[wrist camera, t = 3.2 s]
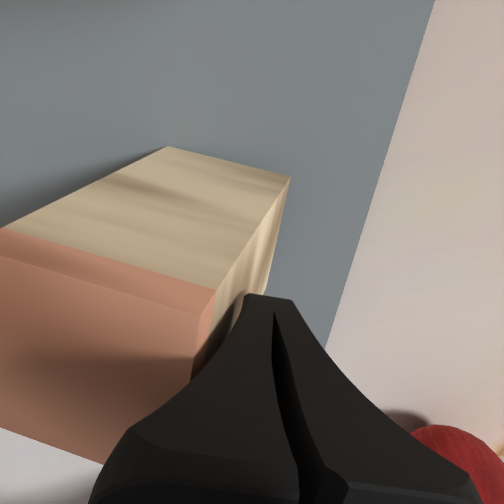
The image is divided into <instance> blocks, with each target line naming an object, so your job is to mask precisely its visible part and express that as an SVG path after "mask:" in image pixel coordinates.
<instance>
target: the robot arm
mask: <svg viewBox="0 0 504 504" xmlns="http://www.w3.org/2000/svg"><path fill="white" fill-rule="evenodd" d="M88 504H484V503H483V501H482V499H481V497H480V494H479V492H478V490H477V489H476V487H475V485H474V483H473V481H472V479H471V477H470V475H469V474H468V472H466V471H464V470H463V469H461V468H460V467H458V466H457V465H455V464H453V463H452V462H450V461H449V460H447V459H445V458H444V457H442V456H441V455H439V454H438V453H436V452H434V451H433V450H431V449H430V448H428V447H427V446H425V445H424V444H423V443H421V442H420V441H419V440H417V439H416V438H414V437H413V436H412V435H410V434H409V433H408V432H406V431H405V430H404V429H402V428H401V427H400V426H399V425H397V424H396V423H395V422H394V421H392V420H391V419H390V418H389V417H388V416H386V415H385V414H384V413H383V412H382V411H381V410H380V409H378V408H377V407H376V406H375V405H374V404H373V403H372V402H371V401H370V400H368V399H367V398H366V397H365V396H364V395H363V394H362V393H361V392H360V391H359V390H358V389H357V388H356V387H355V385H354V384H353V383H352V382H351V381H350V380H349V379H348V378H347V377H346V376H345V375H344V374H343V373H342V371H341V370H340V369H339V368H338V367H337V365H336V364H335V363H334V362H333V360H332V359H331V358H330V357H329V355H328V354H327V353H326V351H325V350H324V349H323V347H322V346H321V344H320V343H319V341H318V340H317V339H316V337H315V336H314V334H313V333H312V331H311V330H310V328H309V327H308V325H307V323H306V322H305V320H304V319H303V317H302V315H301V314H300V312H299V310H298V309H297V307H296V305H295V304H294V302H293V301H292V300H290V299H284V298H278V297H271V296H265V295H259V294H253V293H248V294H246V295H245V296H244V299H243V304H242V309H241V312H240V314H239V316H238V319H237V320H236V322H235V324H234V326H233V328H232V330H231V331H230V333H229V335H228V336H227V338H226V339H225V341H224V342H223V344H222V345H221V346H220V348H219V349H218V351H217V352H216V353H215V355H214V356H213V357H212V358H211V360H210V361H209V362H208V363H207V364H206V365H205V367H204V368H203V369H202V370H201V371H200V372H199V373H198V374H197V375H196V376H195V377H194V378H193V379H192V380H191V381H190V382H189V383H188V384H187V385H186V386H185V387H184V388H183V389H182V390H181V391H179V392H178V393H177V394H176V395H174V396H173V397H172V398H171V399H169V400H168V401H167V402H166V403H164V404H163V405H162V406H161V407H159V408H158V409H157V410H155V411H154V412H152V413H151V414H149V415H148V416H146V417H144V418H143V419H141V420H140V421H138V422H137V423H135V424H134V425H132V426H130V427H129V428H128V429H127V430H126V432H125V433H124V434H123V436H122V437H121V439H120V440H119V442H118V443H117V445H116V446H115V448H114V449H113V451H112V452H111V454H110V456H109V457H108V459H107V461H106V462H105V464H104V466H103V468H102V470H101V472H100V474H99V476H98V478H97V480H96V482H95V484H94V487H93V490H92V493H91V496H90V499H89V502H88Z"/></svg>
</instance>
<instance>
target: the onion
mask: <svg viewBox="0 0 504 504" xmlns="http://www.w3.org/2000/svg"><path fill="white" fill-rule="evenodd" d="M409 434H410V435H412V436H413V437H414V438H416V439H417V440H419V441H420V442H421V443H423V444H424V445H425V446H427V447H428V448H430V449H431V450H433V451H434V452H436V453H438V454H439V455H441V456H442V457H444V458H445V459H447V460H449V461H450V462H452V463H453V464H455V465H457V466H458V467H460V468H461V469H463V470H464V471H466V472H468V474H469V475H470V477H471V479H472V481H473V483H474V485H475V487H476V489H477V490H478V492H479V494H480V497H481V499H482V501H483V503H484V504H504V463H503V461H502V460H501V459H500V458H499V457H498V456H497V455H496V454H495V453H494V452H493V451H492V450H491V449H490V448H489V447H488V446H487V445H486V444H485V443H484V442H483V441H482V440H480V439H478V438H477V437H475V436H473V435H472V434H470V433H468V432H465V431H463V430H460V429H458V428H455V427H451V426H445V425H429V426H424V427H420V428H418V429H416V430H415V431H413V432H411V433H409Z"/></svg>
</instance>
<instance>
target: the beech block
mask: <svg viewBox="0 0 504 504" xmlns="http://www.w3.org/2000/svg"><path fill="white" fill-rule="evenodd" d="M290 179H291V176H286V175H282V174H278V173H274V172H270V171H266V170H262V169H258V168H254V167H250V166H246V165H242V164H238V163H234V162H230V161H226V160H222V159H218V158H214V157H210V156H206V155H202V154H198V153H194V152H190V151H186V150H182V149H178V148H174V147H170V146H167V147H165V148H163V149H161V150H159V151H156V152H154V153H152V154H150V155H148V156H146V157H144V158H142V159H140V160H138V161H136V162H134V163H132V164H130V165H128V166H126V167H124V168H122V169H120V170H118V171H116V172H114V173H112V174H110V175H108V176H106V177H104V178H102V179H100V180H98V181H95V182H93V183H91V184H89V185H87V186H85V187H83V188H81V189H79V190H77V191H75V192H73V193H71V194H69V195H67V196H65V197H63V198H61V199H59V200H57V201H55V202H53V203H51V204H49V205H47V206H45V207H43V208H41V209H39V210H36V211H34V212H32V213H30V214H28V215H26V216H24V217H22V218H20V219H18V220H16V221H14V222H12V223H10V224H8V225H6V226H4V227H2V228H0V427H1V428H4V429H6V430H9V431H12V432H15V433H17V434H20V435H23V436H26V437H28V438H31V439H34V440H37V441H39V442H42V443H45V444H48V445H50V446H53V447H56V448H59V449H61V450H64V451H67V452H70V453H72V454H75V455H78V456H81V457H83V458H86V459H89V460H92V461H94V462H97V463H100V464H103V465H104V464H105V462H106V461H107V459H108V457H109V456H110V454H111V452H112V451H113V449H114V448H115V446H116V445H117V443H118V442H119V440H120V439H121V437H122V436H123V434H124V433H125V432H126V430H127V429H128V428H129V427H130V426H132V425H134V424H135V423H137V422H138V421H140V420H141V419H143V418H144V417H146V416H148V415H149V414H151V413H152V412H154V411H155V410H157V409H158V408H159V407H161V406H162V405H163V404H164V403H166V402H167V401H168V400H169V399H171V398H172V397H173V396H174V395H176V394H177V393H178V392H179V391H181V390H182V389H183V388H184V387H185V386H186V385H187V384H188V383H189V382H190V381H191V380H192V379H193V378H194V377H195V376H196V375H197V374H198V373H199V372H200V371H201V370H202V369H203V368H204V367H205V365H206V364H207V363H208V362H209V361H210V360H211V358H212V357H213V356H214V355H215V353H216V352H217V351H218V349H219V348H220V346H221V345H222V344H223V342H224V341H225V339H226V338H227V336H228V335H229V333H230V331H231V330H232V328H233V326H234V324H235V322H236V320H237V319H238V316H239V314H240V312H241V309H242V304H243V299H244V296H245V295H246V294H248V293H253V294H259V295H263V293H264V291H265V289H266V285H267V281H268V276H269V272H270V268H271V263H272V259H273V254H274V250H275V245H276V241H277V236H278V232H279V227H280V223H281V219H282V214H283V210H284V205H285V201H286V196H287V192H288V187H289V183H290Z"/></svg>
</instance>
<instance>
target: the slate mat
mask: <svg viewBox="0 0 504 504" xmlns="http://www.w3.org/2000/svg"><path fill="white" fill-rule="evenodd" d="M434 2H435V0H0V228H2V227H4V226H6V225H8V224H10V223H12V222H14V221H16V220H18V219H20V218H22V217H24V216H26V215H28V214H30V213H32V212H34V211H36V210H39V209H41V208H43V207H45V206H47V205H49V204H51V203H53V202H55V201H57V200H59V199H61V198H63V197H65V196H67V195H69V194H71V193H73V192H75V191H77V190H79V189H81V188H83V187H85V186H87V185H89V184H91V183H93V182H95V181H98V180H100V179H102V178H104V177H106V176H108V175H110V174H112V173H114V172H116V171H118V170H120V169H122V168H124V167H126V166H128V165H130V164H132V163H134V162H136V161H138V160H140V159H142V158H144V157H146V156H148V155H150V154H152V153H154V152H156V151H159V150H161V149H163V148H165V147H167V146H170V147H174V148H178V149H182V150H186V151H190V152H194V153H198V154H202V155H206V156H210V157H214V158H218V159H222V160H226V161H230V162H234V163H238V164H242V165H246V166H250V167H254V168H258V169H262V170H266V171H270V172H274V173H278V174H282V175H286V176H291V179H290V183H289V187H288V192H287V196H286V201H285V205H284V210H283V214H282V219H281V223H280V227H279V232H278V236H277V241H276V245H275V250H274V254H273V259H272V263H271V268H270V272H269V276H268V281H267V285H266V289H265V291H264V293H263V295H265V296H271V297H278V298H284V299H290V300H292V301H293V302H294V304H295V305H296V307H297V309H298V310H299V312H300V314H301V315H302V317H303V319H304V320H305V322H306V323H307V325H308V327H309V328H310V330H311V331H312V333H313V334H314V336H315V337H316V339H317V340H318V341H319V343H320V344H321V346H322V347H323V349H324V350H325V347H326V343H327V340H328V337H329V334H330V331H331V328H332V324H333V321H334V318H335V315H336V312H337V309H338V305H339V302H340V299H341V296H342V293H343V290H344V286H345V283H346V280H347V277H348V274H349V271H350V267H351V264H352V261H353V258H354V255H355V252H356V248H357V245H358V242H359V239H360V236H361V233H362V229H363V226H364V223H365V220H366V217H367V214H368V210H369V207H370V204H371V201H372V198H373V195H374V191H375V188H376V185H377V182H378V179H379V176H380V172H381V169H382V166H383V163H384V160H385V157H386V153H387V150H388V147H389V144H390V141H391V138H392V134H393V131H394V128H395V125H396V122H397V119H398V115H399V112H400V109H401V106H402V103H403V100H404V96H405V93H406V90H407V87H408V84H409V81H410V77H411V74H412V71H413V68H414V65H415V62H416V59H417V55H418V52H419V49H420V46H421V43H422V40H423V36H424V33H425V30H426V27H427V24H428V21H429V17H430V14H431V11H432V8H433V5H434Z"/></svg>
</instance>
